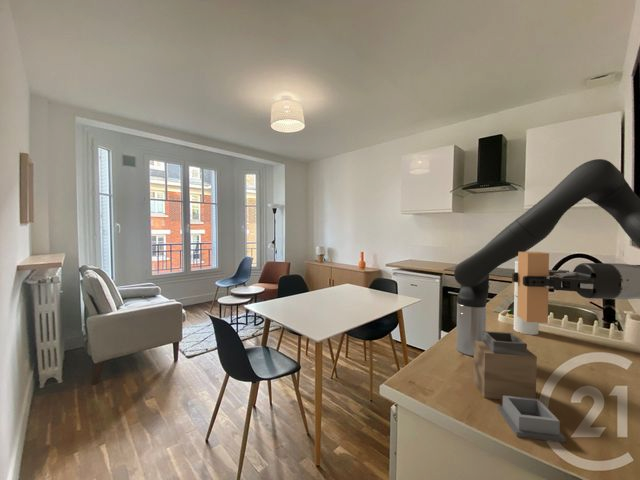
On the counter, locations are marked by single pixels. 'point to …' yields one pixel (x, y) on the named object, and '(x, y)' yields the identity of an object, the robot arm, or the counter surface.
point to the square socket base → (504, 366)
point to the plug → (532, 298)
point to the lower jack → (530, 419)
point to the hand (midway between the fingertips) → (518, 279)
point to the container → (519, 323)
